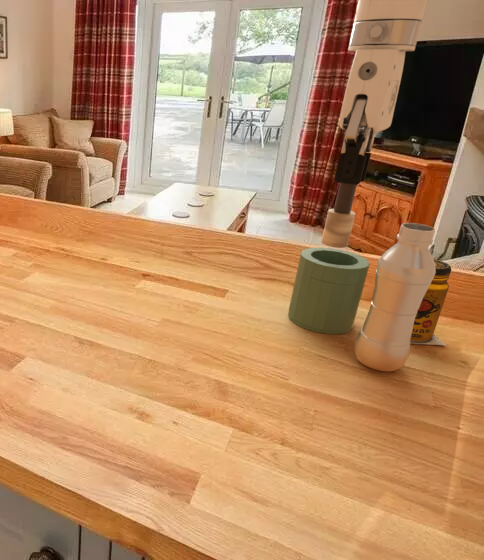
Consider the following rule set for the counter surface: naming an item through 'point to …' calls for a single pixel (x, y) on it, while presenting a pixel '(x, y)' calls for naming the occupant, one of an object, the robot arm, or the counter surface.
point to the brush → (340, 218)
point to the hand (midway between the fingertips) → (349, 180)
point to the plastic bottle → (396, 299)
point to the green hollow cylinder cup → (327, 290)
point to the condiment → (431, 307)
